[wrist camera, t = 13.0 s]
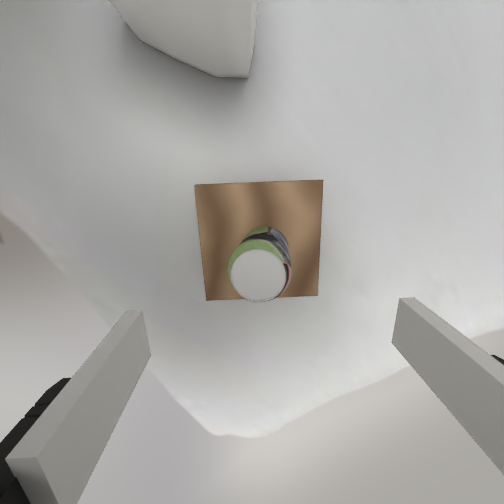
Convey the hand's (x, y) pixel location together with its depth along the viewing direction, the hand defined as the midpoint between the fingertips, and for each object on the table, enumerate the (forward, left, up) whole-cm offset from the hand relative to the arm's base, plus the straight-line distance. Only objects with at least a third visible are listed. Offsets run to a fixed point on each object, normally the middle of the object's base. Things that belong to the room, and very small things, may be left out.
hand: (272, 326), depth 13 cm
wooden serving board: (+1, -2, -25) cm, 25 cm away
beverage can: (0, -2, -21) cm, 21 cm away
